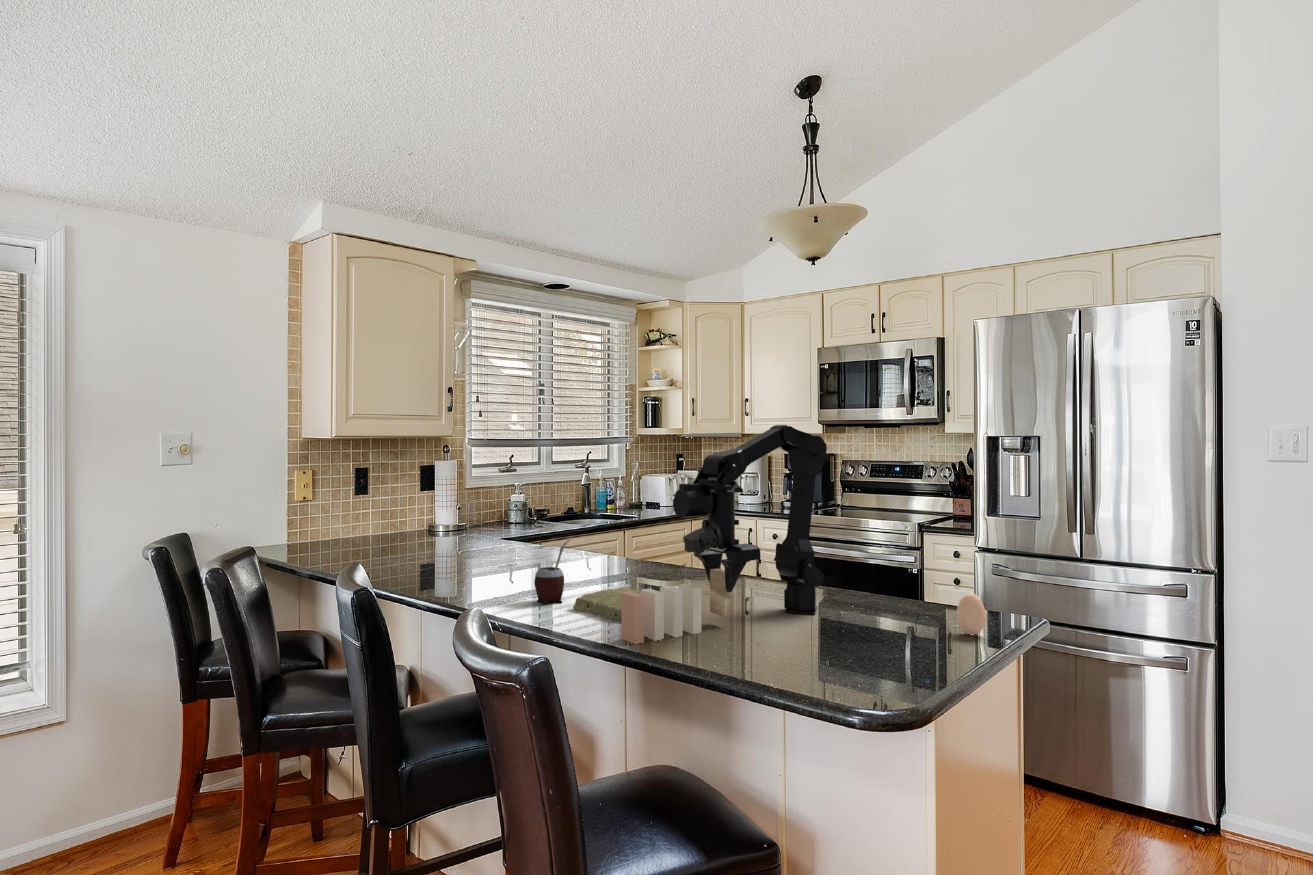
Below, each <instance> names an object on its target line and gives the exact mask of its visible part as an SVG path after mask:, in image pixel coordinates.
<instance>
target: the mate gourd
mask: <svg viewBox="0 0 1313 875" xmlns="http://www.w3.org/2000/svg"><path fill="white" fill-rule="evenodd" d="M571 540H572V537H569V538H568V539H567V540H566V541H565V542H564V543H563V544H562V545H561V547H560V549H559V554H558V557H557V560H556V563H555V566H554V567H553V566H547V567H540V568H538V569H537V571H536V572H535V575H534V576H535V577H534V588H535V592H536V595H537V599H536V602H537V603H542V606H548V605H550V604H562V603H563V600H562V597H563V594H564V593H563V592H564V587H565V576H564V572H563V571H562V569H561V568H560V567H559V565H560V564H559V563H560V560H561V556H562V553H563V552H564V550H565V546H566V545H567V544H568V543H569V542H570V541H571Z"/></svg>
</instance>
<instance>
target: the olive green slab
mask: <svg viewBox="0 0 1313 875" xmlns="http://www.w3.org/2000/svg"><path fill="white" fill-rule="evenodd" d="M628 591H631V592H634V593H637V594H640V595H641V590H639V589H638V590H637V589H631V588H629V587H623V586H622V587H621V586H620V587H617V588H608V589H603V590H597V591H595V592H592V593H590V592H589V593H586V594H583V595H581V596H580V597H577V598H576V599H575V601H574V602H575V603H574V604H573V606H572V609H573V610H574V611H575V610H576V611H575V612H579V611H581V613H588V614H591V615H594V616H598V615H600V616H599V617H601V618H603V617H605V618H604V619H608V618H609V620H612V619H615V620H614V621H618V620H621V592H628Z"/></svg>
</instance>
